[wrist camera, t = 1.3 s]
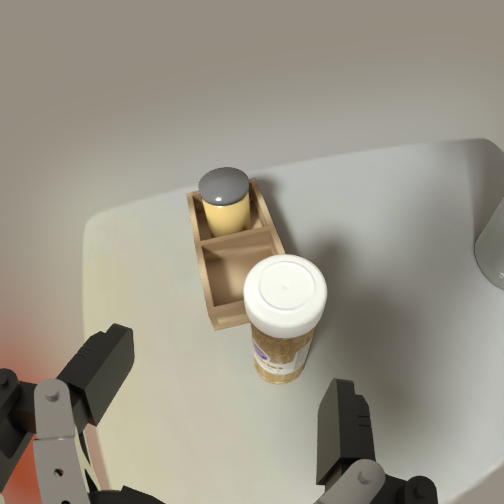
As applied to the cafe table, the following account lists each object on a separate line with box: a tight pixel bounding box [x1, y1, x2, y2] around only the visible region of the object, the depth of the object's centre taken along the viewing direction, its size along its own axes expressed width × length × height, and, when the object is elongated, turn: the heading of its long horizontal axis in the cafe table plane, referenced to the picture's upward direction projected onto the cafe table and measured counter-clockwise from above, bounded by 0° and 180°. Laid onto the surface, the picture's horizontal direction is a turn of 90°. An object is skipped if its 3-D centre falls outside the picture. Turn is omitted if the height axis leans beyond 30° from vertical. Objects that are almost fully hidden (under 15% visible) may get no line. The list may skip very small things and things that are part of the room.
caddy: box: [187, 179, 285, 331], centre depth 33 cm, size 16×8×4 cm, turn 14°
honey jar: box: [199, 167, 251, 238], centre depth 34 cm, size 5×5×7 cm
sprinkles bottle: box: [244, 254, 327, 384], centre depth 22 cm, size 5×5×13 cm
